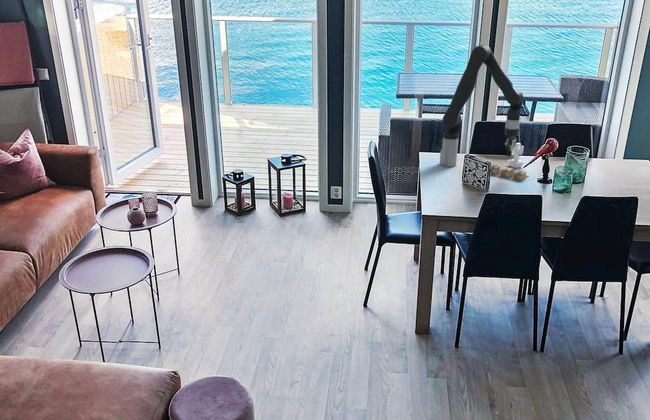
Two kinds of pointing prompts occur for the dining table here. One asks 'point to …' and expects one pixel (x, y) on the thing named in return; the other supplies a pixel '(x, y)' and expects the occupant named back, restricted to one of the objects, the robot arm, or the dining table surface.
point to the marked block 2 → (519, 174)
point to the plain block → (506, 171)
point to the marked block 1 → (495, 168)
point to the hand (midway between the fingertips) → (508, 156)
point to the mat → (507, 177)
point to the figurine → (516, 156)
